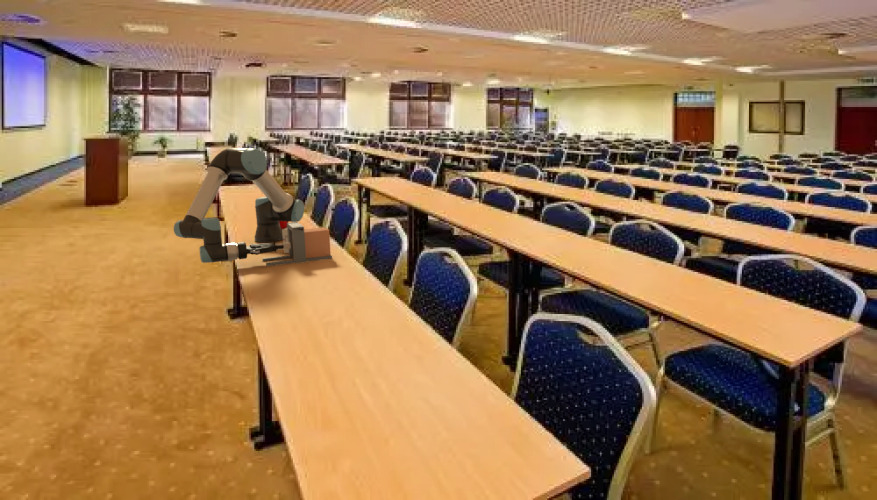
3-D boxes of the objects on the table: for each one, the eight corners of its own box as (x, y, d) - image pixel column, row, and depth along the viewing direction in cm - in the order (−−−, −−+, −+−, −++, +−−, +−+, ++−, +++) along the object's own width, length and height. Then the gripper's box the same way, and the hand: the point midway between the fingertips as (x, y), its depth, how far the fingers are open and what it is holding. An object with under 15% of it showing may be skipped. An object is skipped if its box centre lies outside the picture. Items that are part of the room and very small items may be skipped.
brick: (296, 260, 282) (294, 233, 279) (293, 257, 288) (291, 230, 285) (330, 256, 288) (329, 229, 285) (326, 253, 294) (325, 227, 291)
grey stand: (267, 266, 273) (264, 230, 270) (262, 260, 285) (259, 225, 281) (332, 258, 286) (330, 224, 282) (325, 253, 297) (323, 219, 293)
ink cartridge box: (291, 249, 306) (288, 220, 303) (300, 249, 305) (298, 220, 302) (283, 253, 298) (281, 223, 295) (292, 253, 297) (290, 223, 294)
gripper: (235, 256, 279) (287, 250, 289) (239, 262, 268) (293, 256, 277) (234, 240, 277) (286, 234, 287) (238, 245, 266) (292, 240, 276)
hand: (290, 245), depth 282 cm, fingers closed
